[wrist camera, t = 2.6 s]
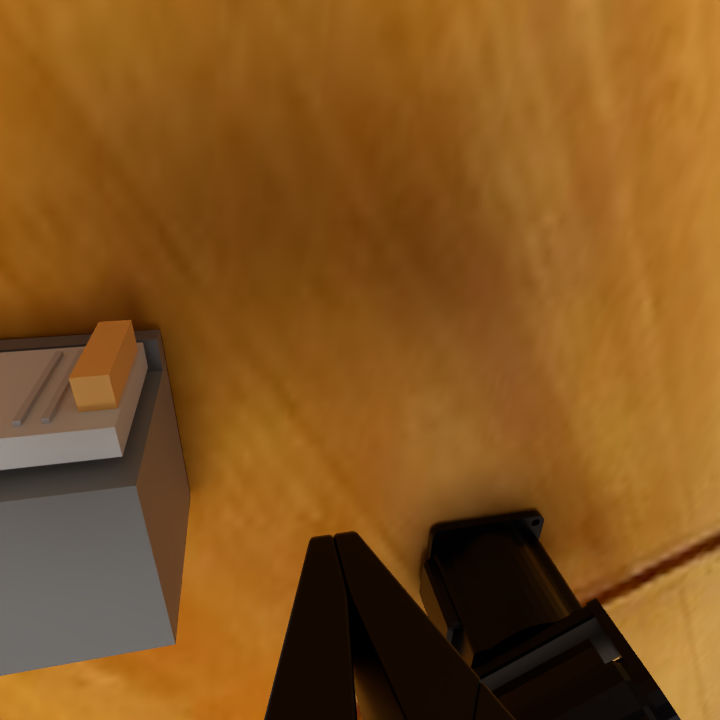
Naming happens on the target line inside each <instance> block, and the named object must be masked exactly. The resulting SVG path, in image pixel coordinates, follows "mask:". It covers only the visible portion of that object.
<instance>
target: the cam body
mask: <svg viewBox="0 0 720 720" xmlns="http://www.w3.org/2000/svg"><path fill="white" fill-rule="evenodd" d="M91 335H92V334H84V335H69V336H55V337H40V338H25V339H10V340H0V353H2V352H16V351H30V350H44V349H58V348H72V347H86V345H87V343H88V341H89V339H90V337H91ZM134 335H135V339H136V343H142V342H143V345H144V350H145V355H146V360H147V365H148V369H147V373H146V376H145V380H144V383H143V386H142V390H141V393H140V397H139V400H138V404H137V407H136V411H135V414H134V418H133V421H132V425H131V428H130V432H129V435H128V439H127V442H126V446H125V449H124V453H123V456H122V457H114V458H105V459H96V460H87V461H78V462H69V463H60V464H51V465H42V466H33V467H24V468H15V469H6V470H0V676H2V675H7V674H13V673H19V672H24V671H30V670H35V669H41V668H46V667H52V666H57V665H63V664H69V663H74V662H80V661H85V660H91V659H96V658H102V657H107V656H113V655H119V654H124V653H130V652H135V651H141V650H146V649H152V648H157V647H163V646H169V645H174V644H175V643H176V633H177V623H178V614H179V604H180V594H181V584H182V574H183V564H184V554H185V545H186V535H187V525H188V515H189V505H190V491H189V486H188V481H187V475H186V470H185V464H184V459H183V453H182V448H181V442H180V437H179V432H178V426H177V421H176V415H175V410H174V404H173V399H172V394H171V388H170V383H169V377H168V372H167V366H166V361H165V356H164V350H163V345H162V339H161V334H160V329H159V330H144V331H134Z"/></svg>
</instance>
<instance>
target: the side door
mask: <svg viewBox="0 0 720 720" xmlns="http://www.w3.org/2000/svg"><path fill="white" fill-rule="evenodd" d="M147 369H148V365H147V360H146V355H145V350H144V345H143V342H142V343H136V339H135V335H134V330H133V325H132V320H120V321H104V322H98V324H97V326H96V328H95V330H94V332H93V334H92V335H91V337H90V339H89V341H88V343H87V345H86V347H72V348H58V349H44V350H30V351H16V352H2V353H0V470H6V469H15V468H24V467H33V466H42V465H51V464H60V463H69V462H78V461H87V460H96V459H105V458H114V457H122V456H123V453H124V449H125V446H126V442H127V439H128V435H129V432H130V428H131V425H132V421H133V418H134V414H135V411H136V407H137V404H138V400H139V397H140V393H141V390H142V386H143V383H144V380H145V376H146V373H147Z"/></svg>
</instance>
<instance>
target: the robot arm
mask: <svg viewBox="0 0 720 720" xmlns="http://www.w3.org/2000/svg"><path fill="white" fill-rule="evenodd" d="M543 522H544V518H543V517H542V515H541V514H540V513H539V512H538V511H529V512H522V513H516V514H509V515H503V516H496V517H489V518H483V519H476V520H470V521H463V522H456V523H450V524H443V525H438V526H436V527H434V528H433V529H432V530H431V532H430V538H429V546H428V554H427V559H426V560H425V561H424V563H423V566H422V574H421V583H420V591H419V592H420V596H421V598H422V602H423V605H424V608H425V610H426V612H427V615H428V616H427V615H426V614H425V613H424V611H423V610H422V609H421V608H420V607H419V606H418V604H417V603H416V602H415V601H414V600H413V598H412V597H411V596H410V595H409V594H408V593H407V591H406V590H405V589H404V588H403V587H402V585H401V584H400V583H399V582H398V581H397V579H396V578H395V577H394V576H393V575H392V574H391V572H390V571H389V570H388V569H387V568H386V566H385V565H384V564H383V563H382V562H381V561H380V559H379V558H378V557H377V556H376V555H375V553H374V552H373V551H372V550H371V549H370V547H369V546H368V545H367V544H366V543H365V542H364V540H363V539H362V538H361V537H360V536H359V535H358V533H356V532H354V531H350V532H343V533H337V534H335V535H334V537H333V536H332V535H323V536H316V537H312V538H311V539H310V541H309V545H308V548H307V552H306V556H305V560H304V564H303V568H302V572H301V576H300V580H299V584H298V588H297V592H296V596H295V600H294V604H293V608H292V612H291V616H290V620H289V624H288V628H287V632H286V635H285V639H284V643H283V647H282V651H281V655H280V659H279V663H278V667H277V671H276V675H275V679H274V683H273V687H272V691H271V695H270V699H269V703H268V707H267V711H266V714H265V718H264V720H357V711H356V697H355V692H356V696H357V700H358V703H359V707H360V711H361V714H362V718H363V720H681V719H680V718H679V716H678V715H677V713H676V712H675V710H674V709H673V707H672V706H671V704H670V703H669V701H668V700H667V698H666V697H665V695H664V694H663V692H662V691H661V689H660V688H659V686H658V685H657V683H656V682H655V681H654V679H653V678H652V676H651V675H650V673H649V672H648V671H647V669H646V668H645V666H644V665H643V663H642V662H641V661H640V659H639V658H638V656H637V655H636V654H635V652H634V651H633V649H632V648H631V647H630V645H629V644H628V642H627V641H626V640H625V638H624V637H623V635H622V634H621V633H620V631H619V630H618V628H617V627H616V625H615V624H614V623H613V621H612V620H611V618H610V617H609V616H608V614H607V613H606V611H605V610H604V609H603V607H602V606H601V604H600V603H599V602H598V600H597V599H596V598H594V599H592V600H591V601H589V602H587V603H586V604H587V605H586V606H584V607H582V606H581V604H580V603H579V601H578V600H577V598H576V597H575V595H574V593H573V592H572V590H571V589H570V587H569V586H568V584H567V583H566V581H565V580H564V578H563V577H562V575H561V573H560V572H559V570H558V569H557V567H556V566H555V564H554V563H553V561H552V560H551V558H550V556H549V555H548V553H547V552H546V550H545V549H544V547H543V546H542V544H541V543H540V541H539V537H540V533H541V530H542V526H543ZM617 657H619V659H618V660H616V661H612V660H614V659H616V658H617Z"/></svg>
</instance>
